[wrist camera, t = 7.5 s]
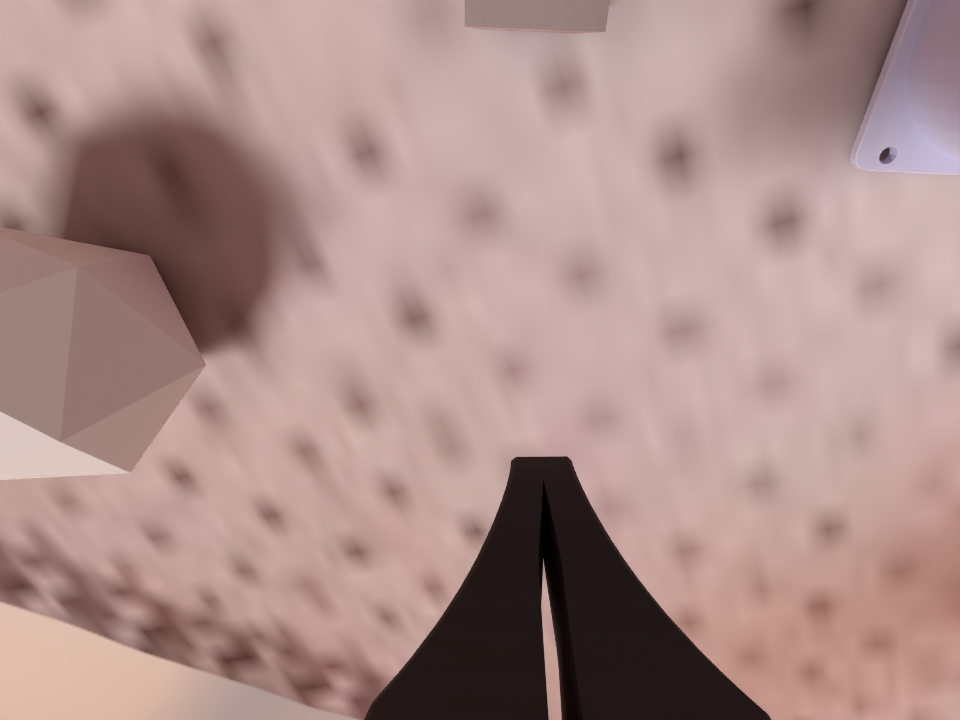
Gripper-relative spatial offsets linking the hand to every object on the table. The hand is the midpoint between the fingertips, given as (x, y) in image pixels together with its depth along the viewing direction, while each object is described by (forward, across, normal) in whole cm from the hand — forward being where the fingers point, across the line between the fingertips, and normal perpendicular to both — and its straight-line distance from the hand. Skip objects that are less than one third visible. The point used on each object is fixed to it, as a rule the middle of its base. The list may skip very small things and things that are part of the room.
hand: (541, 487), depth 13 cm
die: (+10, +17, -1) cm, 20 cm away
